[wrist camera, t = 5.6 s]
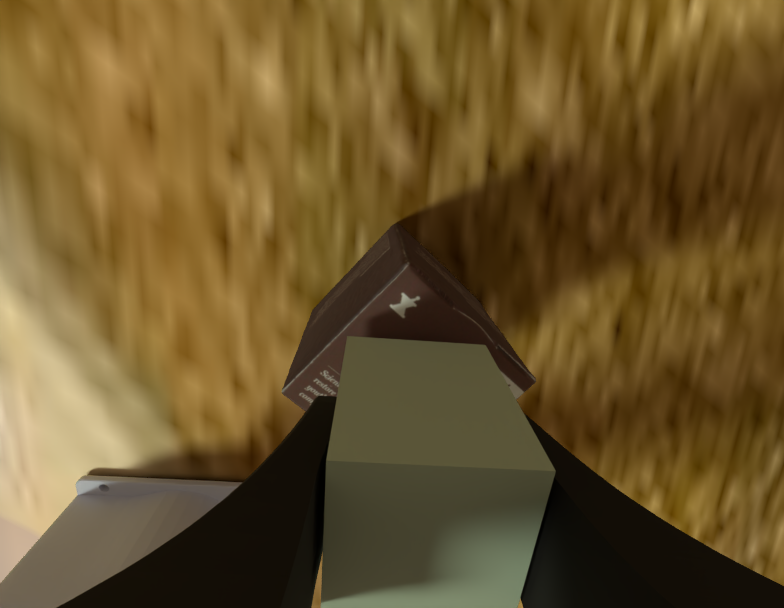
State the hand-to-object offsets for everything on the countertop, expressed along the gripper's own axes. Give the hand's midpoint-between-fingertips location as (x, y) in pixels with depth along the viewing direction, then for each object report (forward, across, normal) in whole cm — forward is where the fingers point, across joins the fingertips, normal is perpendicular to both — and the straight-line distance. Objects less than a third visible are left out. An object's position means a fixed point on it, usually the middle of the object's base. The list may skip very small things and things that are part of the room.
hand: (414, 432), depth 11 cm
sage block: (+2, 0, 0) cm, 2 cm away
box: (+10, 0, 0) cm, 10 cm away
